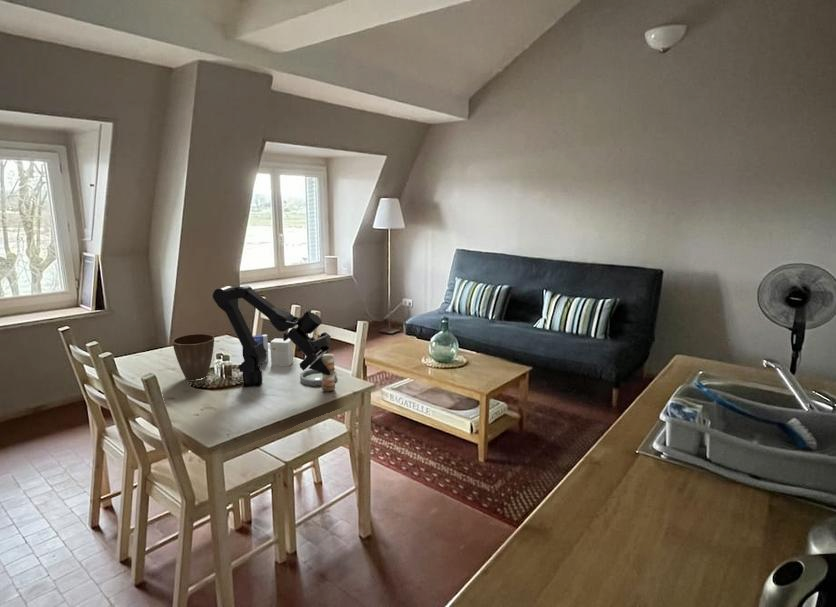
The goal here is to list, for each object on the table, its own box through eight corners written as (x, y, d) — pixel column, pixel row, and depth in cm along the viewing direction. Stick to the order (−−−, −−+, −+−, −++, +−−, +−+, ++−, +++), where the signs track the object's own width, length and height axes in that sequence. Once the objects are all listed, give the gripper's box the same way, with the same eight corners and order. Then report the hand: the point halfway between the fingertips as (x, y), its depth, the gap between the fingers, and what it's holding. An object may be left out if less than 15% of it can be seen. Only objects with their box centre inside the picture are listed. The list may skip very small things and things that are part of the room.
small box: (293, 362, 213) (292, 338, 211) (289, 366, 208) (288, 342, 206) (275, 361, 214) (274, 338, 212) (270, 365, 209) (269, 341, 206)
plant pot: (177, 373, 197) (174, 335, 194) (217, 369, 202) (214, 332, 199) (173, 387, 183) (170, 346, 180) (216, 382, 189) (213, 342, 185)
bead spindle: (322, 391, 180) (321, 357, 177) (321, 386, 185) (321, 353, 182) (335, 390, 181) (335, 357, 178) (334, 385, 186) (334, 353, 183)
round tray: (300, 386, 186) (299, 381, 186) (300, 373, 199) (300, 369, 199) (337, 384, 189) (337, 379, 188) (335, 372, 202) (335, 367, 202)
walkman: (250, 364, 210) (248, 337, 207) (249, 362, 212) (247, 335, 210) (269, 361, 213) (268, 335, 211) (268, 359, 216) (266, 333, 213)
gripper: (307, 334, 169) (338, 367, 170) (326, 321, 187) (354, 351, 188) (286, 354, 172) (317, 386, 173) (307, 339, 190) (334, 368, 191)
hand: (331, 372), depth 181 cm, fingers closed on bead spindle, 4 cm apart
